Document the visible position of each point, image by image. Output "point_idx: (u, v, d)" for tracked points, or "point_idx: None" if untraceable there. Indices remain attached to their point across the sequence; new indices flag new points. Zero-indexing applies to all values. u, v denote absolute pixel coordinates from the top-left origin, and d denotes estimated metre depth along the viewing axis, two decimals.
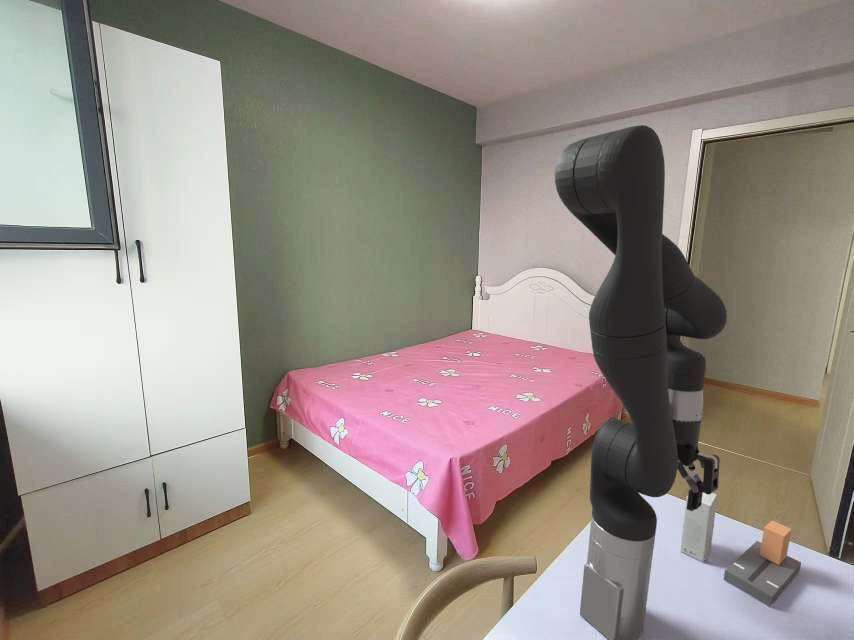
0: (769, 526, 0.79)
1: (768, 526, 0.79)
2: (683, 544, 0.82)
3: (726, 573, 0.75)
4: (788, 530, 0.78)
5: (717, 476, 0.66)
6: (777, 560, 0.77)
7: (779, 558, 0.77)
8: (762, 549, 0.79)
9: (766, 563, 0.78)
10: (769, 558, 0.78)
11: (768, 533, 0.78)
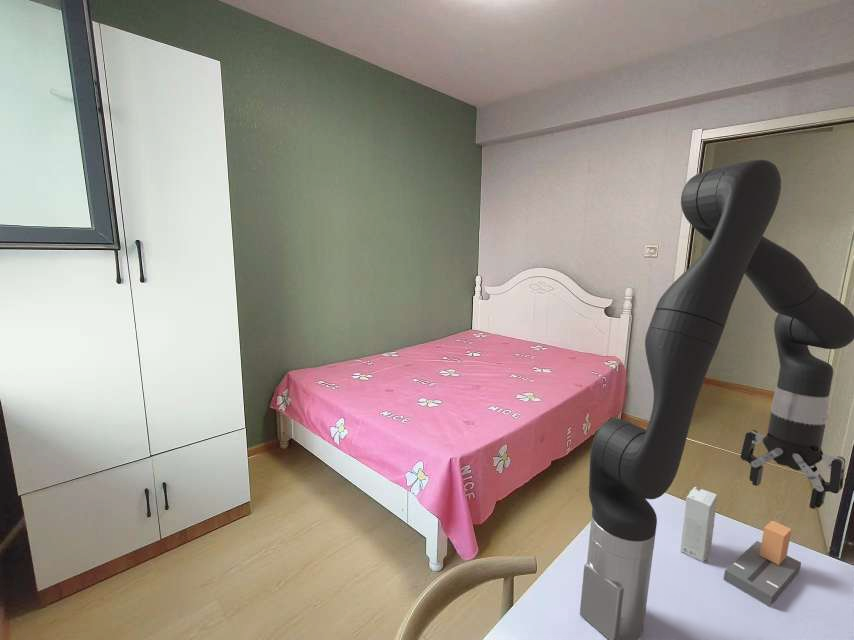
0: (769, 526, 0.79)
1: (768, 526, 0.79)
2: (683, 544, 0.82)
3: (726, 573, 0.75)
4: (788, 530, 0.78)
5: (843, 476, 0.71)
6: (777, 560, 0.77)
7: (779, 558, 0.77)
8: (762, 549, 0.79)
9: (766, 563, 0.78)
10: (769, 558, 0.78)
11: (768, 533, 0.78)
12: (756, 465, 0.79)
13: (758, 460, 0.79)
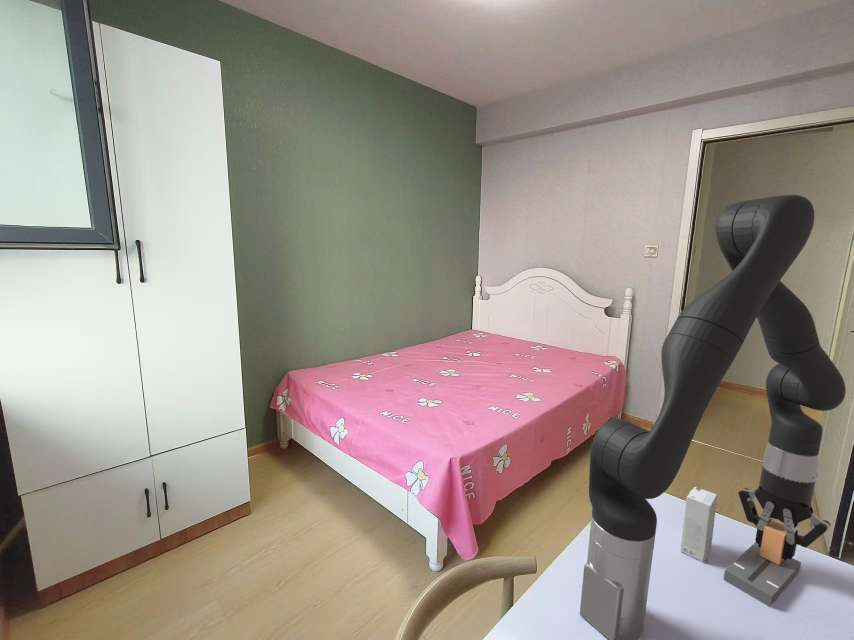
0: (769, 526, 0.79)
1: (768, 526, 0.79)
2: (683, 544, 0.82)
3: (726, 573, 0.75)
4: None
5: None
6: (777, 560, 0.77)
7: (779, 558, 0.77)
8: (762, 549, 0.79)
9: (766, 563, 0.78)
10: (769, 558, 0.78)
11: (768, 533, 0.78)
12: (762, 528, 0.79)
13: (761, 521, 0.79)
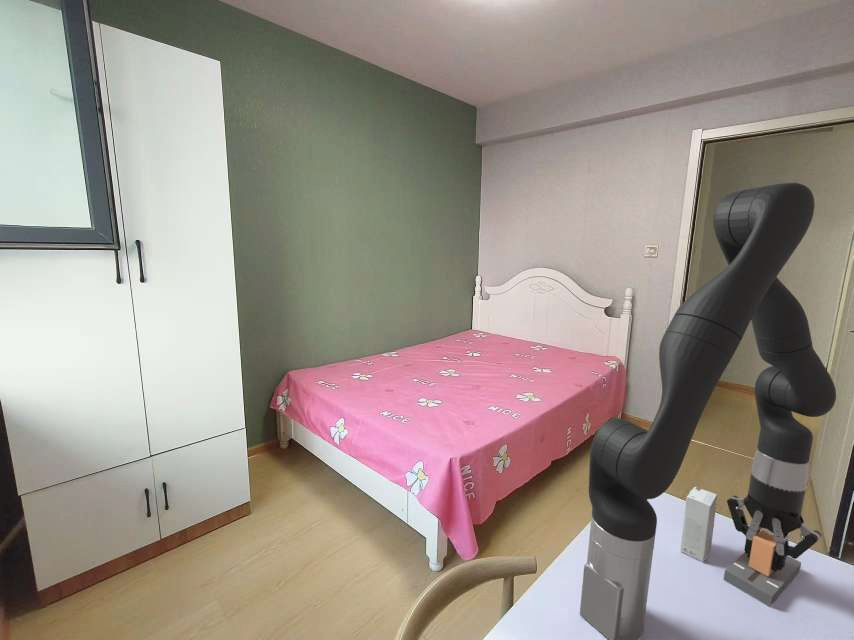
0: (758, 536, 0.76)
1: (757, 536, 0.76)
2: (683, 544, 0.82)
3: (726, 573, 0.75)
4: None
5: None
6: (766, 571, 0.74)
7: (768, 569, 0.74)
8: (751, 560, 0.76)
9: None
10: (758, 569, 0.75)
11: (757, 543, 0.75)
12: (751, 538, 0.76)
13: (750, 531, 0.76)
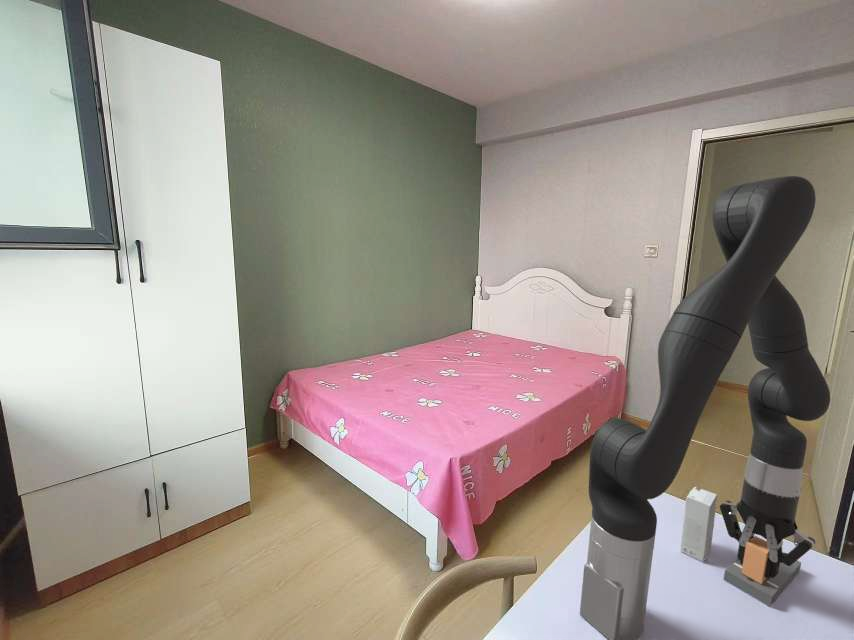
0: (751, 542, 0.74)
1: (750, 542, 0.74)
2: (683, 544, 0.82)
3: (726, 573, 0.75)
4: None
5: None
6: (759, 579, 0.72)
7: (761, 577, 0.72)
8: (744, 566, 0.74)
9: None
10: (751, 576, 0.73)
11: (750, 550, 0.73)
12: (744, 544, 0.75)
13: (743, 537, 0.75)
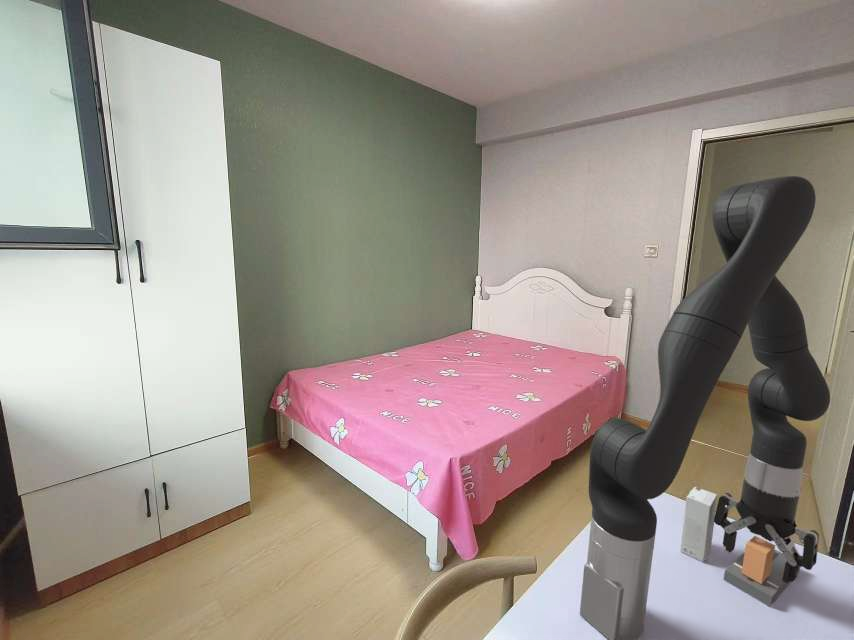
0: (751, 542, 0.74)
1: (750, 542, 0.74)
2: (683, 544, 0.82)
3: (726, 573, 0.75)
4: (771, 547, 0.73)
5: (816, 551, 0.68)
6: (759, 579, 0.72)
7: (761, 577, 0.72)
8: (744, 566, 0.74)
9: None
10: (751, 576, 0.73)
11: (750, 550, 0.73)
12: (729, 531, 0.76)
13: (731, 526, 0.76)
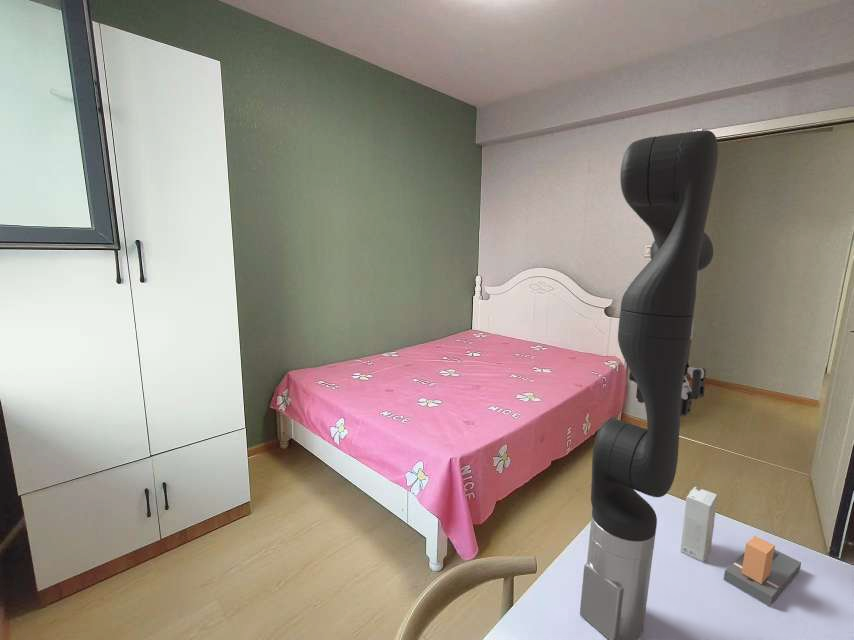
0: (751, 542, 0.74)
1: (750, 542, 0.74)
2: (683, 544, 0.82)
3: (726, 573, 0.75)
4: (771, 547, 0.73)
5: (703, 385, 0.80)
6: (759, 579, 0.72)
7: (761, 577, 0.72)
8: (744, 566, 0.74)
9: None
10: (751, 576, 0.73)
11: (750, 550, 0.73)
12: None
13: None
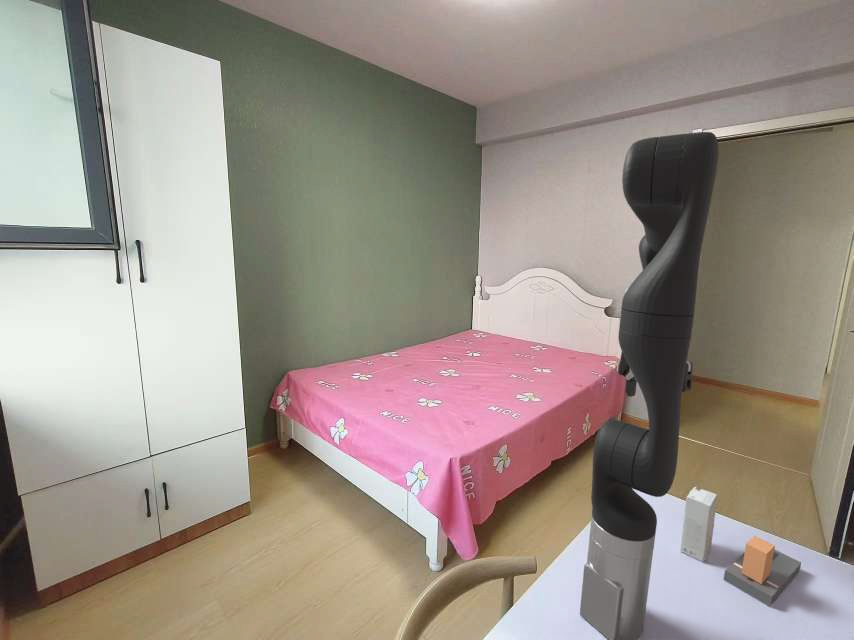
0: (751, 542, 0.74)
1: (750, 542, 0.74)
2: (683, 544, 0.82)
3: (726, 573, 0.75)
4: (771, 547, 0.73)
5: (690, 378, 0.82)
6: (759, 579, 0.72)
7: (761, 577, 0.72)
8: (744, 566, 0.74)
9: None
10: (751, 576, 0.73)
11: (750, 550, 0.73)
12: (629, 377, 0.90)
13: (630, 373, 0.90)
